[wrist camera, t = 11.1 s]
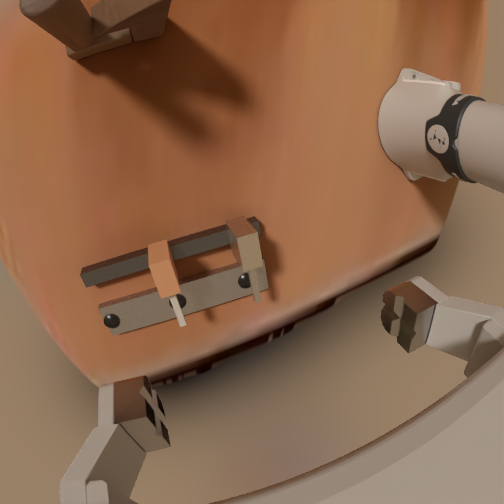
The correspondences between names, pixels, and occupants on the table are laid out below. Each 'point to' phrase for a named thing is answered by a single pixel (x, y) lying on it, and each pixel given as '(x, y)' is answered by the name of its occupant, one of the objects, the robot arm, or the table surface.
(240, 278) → the hole strip
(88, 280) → the rail
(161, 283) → the block
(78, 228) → the table surface
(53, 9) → the brown angular bracket
